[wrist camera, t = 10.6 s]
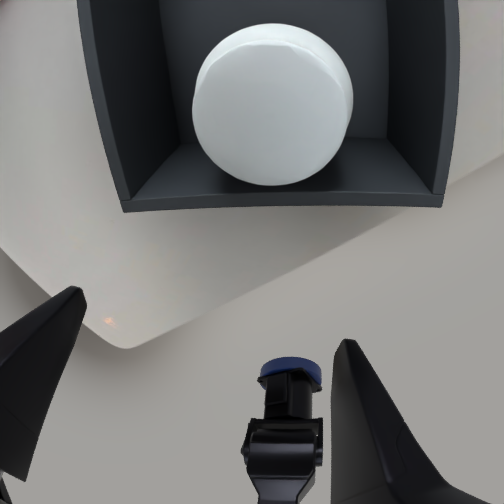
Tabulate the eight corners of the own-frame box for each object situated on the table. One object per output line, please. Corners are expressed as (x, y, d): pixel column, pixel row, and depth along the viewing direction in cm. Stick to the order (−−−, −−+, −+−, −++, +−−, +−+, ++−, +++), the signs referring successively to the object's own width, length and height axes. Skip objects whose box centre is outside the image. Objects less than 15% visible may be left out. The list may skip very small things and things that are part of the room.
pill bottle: (255, 139, 17) (222, 234, 10) (212, 57, 14) (128, 78, 7) (344, 105, 15) (398, 175, 8) (305, 18, 13) (324, -16, 5)
